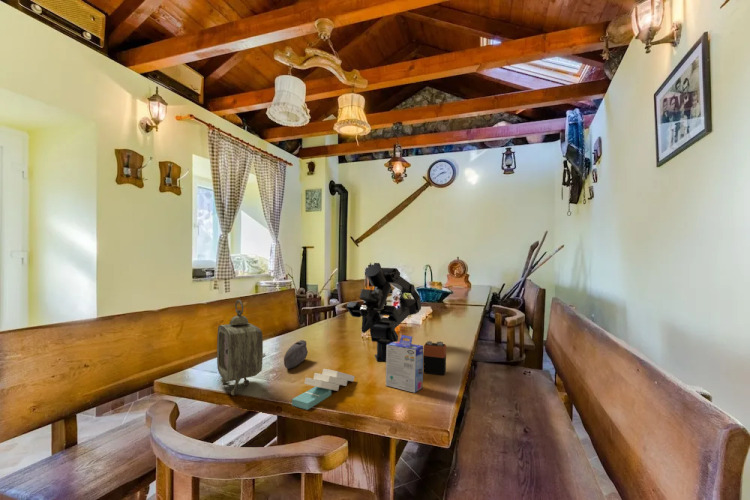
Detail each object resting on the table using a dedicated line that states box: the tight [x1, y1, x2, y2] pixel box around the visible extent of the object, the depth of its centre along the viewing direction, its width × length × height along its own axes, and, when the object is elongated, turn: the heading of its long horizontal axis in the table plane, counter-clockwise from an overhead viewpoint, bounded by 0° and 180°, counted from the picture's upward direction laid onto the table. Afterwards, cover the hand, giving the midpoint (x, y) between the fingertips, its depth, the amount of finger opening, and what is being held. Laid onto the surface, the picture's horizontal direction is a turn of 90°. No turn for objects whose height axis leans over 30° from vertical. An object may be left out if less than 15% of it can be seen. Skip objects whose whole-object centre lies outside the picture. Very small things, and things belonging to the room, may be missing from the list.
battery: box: [423, 340, 447, 376], centre depth 109 cm, size 4×7×10 cm, turn 72°
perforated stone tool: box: [283, 339, 308, 370], centre depth 115 cm, size 15×5×7 cm, turn 168°
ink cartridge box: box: [385, 334, 424, 394], centre depth 97 cm, size 10×6×14 cm, turn 58°
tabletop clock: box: [216, 299, 264, 396], centre depth 95 cm, size 14×9×25 cm, turn 37°
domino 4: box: [321, 368, 355, 382], centre depth 97 cm, size 2×5×10 cm
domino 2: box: [291, 386, 332, 411], centre depth 87 cm, size 2×5×10 cm
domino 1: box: [303, 376, 340, 392], centre depth 90 cm, size 2×5×10 cm
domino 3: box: [312, 372, 349, 387], centre depth 94 cm, size 2×5×10 cm
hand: (363, 331), depth 109 cm, fingers closed
